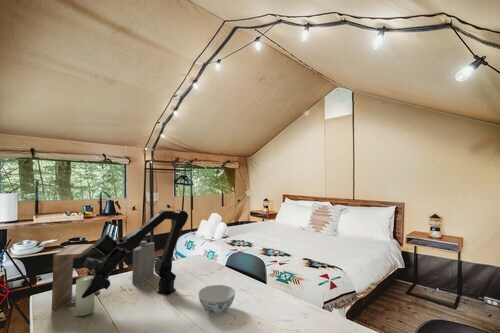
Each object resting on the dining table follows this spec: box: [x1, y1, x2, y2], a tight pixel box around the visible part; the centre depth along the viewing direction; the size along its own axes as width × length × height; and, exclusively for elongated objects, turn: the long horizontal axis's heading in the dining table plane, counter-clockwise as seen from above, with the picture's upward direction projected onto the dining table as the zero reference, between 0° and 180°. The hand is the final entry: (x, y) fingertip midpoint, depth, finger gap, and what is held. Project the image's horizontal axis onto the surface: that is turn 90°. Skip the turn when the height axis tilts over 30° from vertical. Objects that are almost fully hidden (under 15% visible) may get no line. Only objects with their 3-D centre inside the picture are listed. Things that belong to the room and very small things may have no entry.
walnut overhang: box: [51, 243, 101, 311], centre depth 118 cm, size 14×16×22 cm
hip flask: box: [131, 240, 155, 286], centre depth 142 cm, size 16×4×20 cm, turn 166°
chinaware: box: [198, 284, 236, 317], centre depth 109 cm, size 15×15×8 cm
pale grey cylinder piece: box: [74, 275, 95, 317], centre depth 106 cm, size 6×6×13 cm
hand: (81, 294), depth 105 cm, fingers closed on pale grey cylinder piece, 6 cm apart
